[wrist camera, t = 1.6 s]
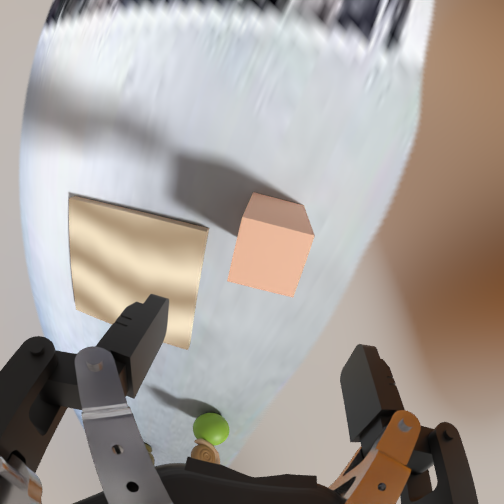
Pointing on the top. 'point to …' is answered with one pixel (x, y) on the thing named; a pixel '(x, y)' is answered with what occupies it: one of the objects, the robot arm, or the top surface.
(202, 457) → the snail figurine
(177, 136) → the top surface
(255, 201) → the terracotta block
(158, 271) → the birch board
